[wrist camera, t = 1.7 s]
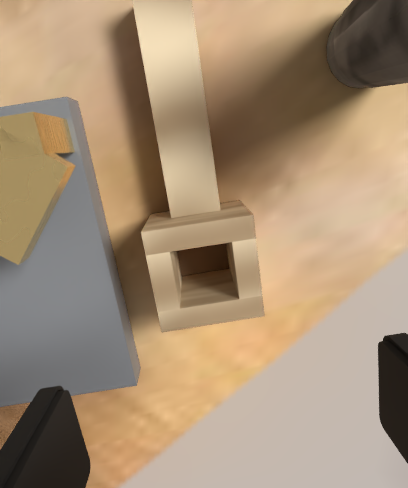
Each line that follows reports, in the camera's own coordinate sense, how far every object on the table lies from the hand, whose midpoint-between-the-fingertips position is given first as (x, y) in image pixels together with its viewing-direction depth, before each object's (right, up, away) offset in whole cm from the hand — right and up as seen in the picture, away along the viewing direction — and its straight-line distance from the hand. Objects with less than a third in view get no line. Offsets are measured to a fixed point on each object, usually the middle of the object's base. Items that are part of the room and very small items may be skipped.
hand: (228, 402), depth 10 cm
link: (-2, +10, +12) cm, 16 cm away
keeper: (-11, +9, +12) cm, 18 cm away
